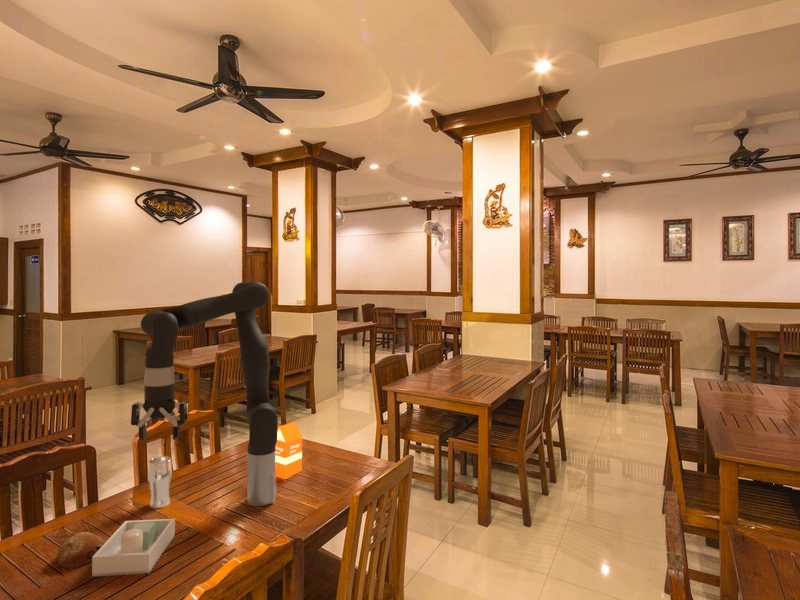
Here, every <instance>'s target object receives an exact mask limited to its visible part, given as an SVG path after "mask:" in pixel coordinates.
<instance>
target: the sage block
mask: <svg viewBox="0 0 800 600" xmlns="http://www.w3.org/2000/svg"><path fill="white" fill-rule="evenodd" d="M133 529H141V530H142V531H143V550H148V549H149V548H150V547H151V545H152V544H153V542H154V541H155V540H156V522H153V523H137V524H136V525H135V526H134V527H133Z"/></svg>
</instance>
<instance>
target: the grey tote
mask: <svg viewBox="0 0 800 600" xmlns="http://www.w3.org/2000/svg"><path fill="white" fill-rule="evenodd" d="M153 522H156V540H155V541H154V542H153V544H152V545H151V547H150V548H149V549H148V550H143V551H142V553H129V554H121V535H122V534H123V533H124V532H126V531H128V530H131V529H133V527H134V526H135V525H136V524H137V523H153ZM175 527H176V518H165V519H164V518H163V519H162V518H161V519H160V518H159V519H141V520H140V519H138V520H137V519H136V520H125V521H124V522H123V523H122V524H121V525H120V526H119V527H118V528H117V529H116V531H115V532H114V533H113V534H112V535H111V536H110V537H109V538H108V539H107V540H106V542H105V544H104V545H103V546H102V547H101V548H100V549H99V550H98V551H97V552H96V553H95V555H94V556H93V557H92V562H91V567H92V568H91V573H92V574H91V577H109V576H124V575H125V576H126V575H127V576H128V575H144V574H145V573H147V574H150V573H151V572H152V570H153V569H152V568H154V567H155V566H156V564H157V563H158V562H159V560H160V559H161V557H162V555H163V554H164V552H165V551H166V549H167V548H168V546H169V545H170V543H171V542H172V540H173V539H174V537H175V536H176V534H175V533H176V531H175V530H176V528H175ZM162 553H163V554H162ZM160 556H161V557H160ZM158 559H159V560H158ZM156 562H157V563H156ZM154 565H155V566H154ZM150 571H151V572H150Z"/></svg>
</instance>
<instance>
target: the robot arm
mask: <svg viewBox="0 0 800 600" xmlns="http://www.w3.org/2000/svg"><path fill="white" fill-rule="evenodd" d="M231 291H232V292H231V293H227V294H222V295H217V296H211V297H205V298H200V299H197V300H193V301H189V302H186V303H184V304H180V305H176V306H172V307H166V308H161V309H157V310H153V311H150V312H147V313H146V314H145V315H144V316H143V317H142V319H141V320H140V327H141V328H140V329H141V330H142V331H143V333H145V334H146V335H148V336H152V340H151V345H149V346H147V348H146V350H145V356H144V357H145V363H144V364H145V369H144V378H143V383H144V388H143V389H144V390H143V391H144V396H143V397H144V399H143V400H144V402H143V403H142V402H139V401H137V402H135V403H133V404H132V406H131V413H130V414H131V415H130V416H131V417H130V425H131V426H135V427H138V438H139V439H140V441H145V440H146V439H147V435H148V431H147V430H148V429H147V425H146V424H147V423H148V421H149V420H150V419H152V420H156V419H162V420H164V419H166V420H167V421H168V422H170V423H171V424H172V440H177V439H178V438H179V436H180V437H181V426H182V425H184V424H185V423H187V422H188V408H187V407H188V406H187V401H182V402H176V400H175V376H176V375H175V367H174V365H175V364H174V361H175V359H174V358H175V357H174V351H175V347H176V343H177V340H178V335H179V334H178V333H179V329H180V328H181V329H182V328H191V327H194V326H198V325H201V324H203V323H206V322H209V321H212V320H215V319H218V318H221V317H224V316H226V315H230V314H234V315H235V321H236V327H237V335H238V342H239V354H240V362H241V369H242V375H243V381H244V385H245V391H246V394H245V395H246V422H247V424H248V425H249V426H248V427H249V432H248V433H249V438H248V439H249V441H248V444H247V465H246V467H247V469H246V471H247V475H246V479H247V480H246V481H247V482H246V483H247V484H246V485H247V486H246V491H247V493H246V497H247V498H246V503H247V504H248V505H250V506H253V507H261V506H262V507H263V506H267V505H269V504H274V503H275V500H276V497H277V477H276V469H275V456H276V443H277V431H278V428H279V425H278V424H279V423H278V420H279V419H278V414H277V412H276V410H275V409H274V408H273V407H272V404H271V400H270V395H269V388H268V387H269V385H268V383H269V376H270V371H271V370H270V367H271V361H270V360H271V359H270V350H269V345H268V342H267V340H266V338H265V336H264V335H263V333H262V330H261V329H260V327H259V325H258V322H257V315H256V310H258V309H260V308H263V307H264V306H265V305H267V303H268V301H269V299H270V291H269V289H268V287H267V286H266V285H265V284H264V283H262V282H259V281H243V282H238V283H236V284H235V285H234V287H233V289H232V290H231ZM175 408H176V410H177V411H178V412H179V417H178V415H177V414H176V412H175V411H174V409H175ZM142 409H143V410H144V412H145V415H143V417H142V418H141V419H140V415H141V411H142Z"/></svg>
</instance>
